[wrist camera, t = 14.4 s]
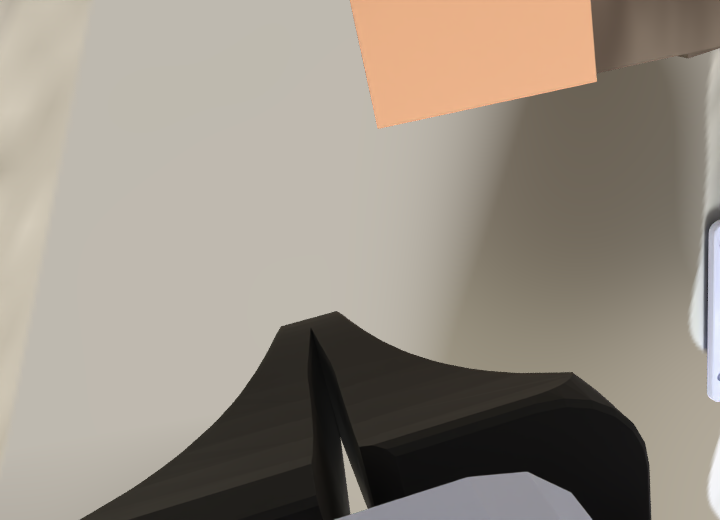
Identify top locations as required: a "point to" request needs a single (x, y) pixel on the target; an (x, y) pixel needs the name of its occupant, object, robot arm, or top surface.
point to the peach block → (469, 52)
